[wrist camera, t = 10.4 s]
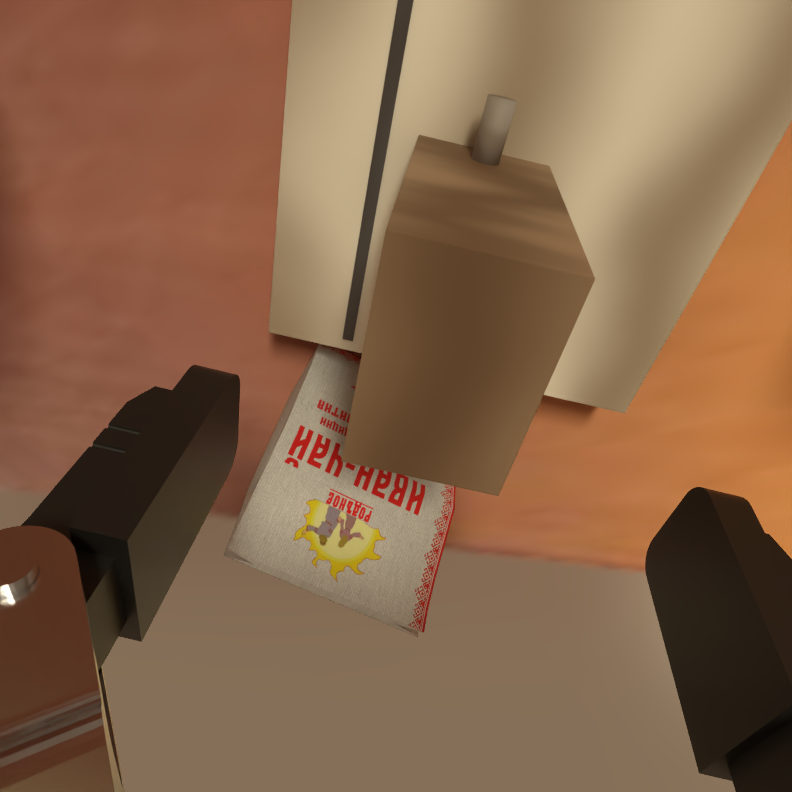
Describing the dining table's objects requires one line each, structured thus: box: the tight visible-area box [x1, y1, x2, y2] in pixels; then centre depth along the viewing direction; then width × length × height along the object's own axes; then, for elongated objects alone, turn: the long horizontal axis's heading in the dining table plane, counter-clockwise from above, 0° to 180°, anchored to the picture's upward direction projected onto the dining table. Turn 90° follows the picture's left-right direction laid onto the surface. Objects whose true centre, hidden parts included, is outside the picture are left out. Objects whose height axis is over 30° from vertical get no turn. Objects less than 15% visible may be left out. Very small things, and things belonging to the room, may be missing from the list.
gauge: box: [341, 94, 595, 496], centre depth 15 cm, size 4×8×8 cm, turn 169°
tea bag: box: [224, 344, 455, 637], centre depth 22 cm, size 4×7×10 cm, turn 61°
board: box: [269, 0, 792, 413], centre depth 17 cm, size 14×20×2 cm
